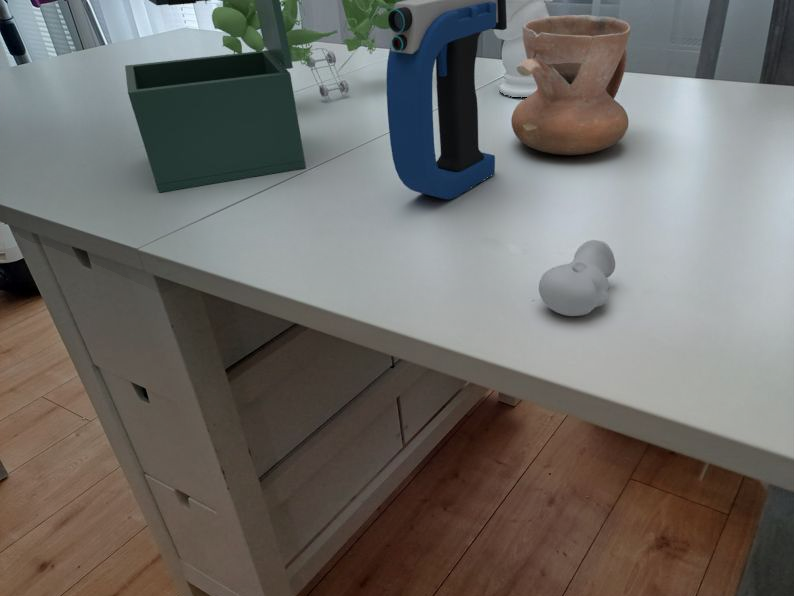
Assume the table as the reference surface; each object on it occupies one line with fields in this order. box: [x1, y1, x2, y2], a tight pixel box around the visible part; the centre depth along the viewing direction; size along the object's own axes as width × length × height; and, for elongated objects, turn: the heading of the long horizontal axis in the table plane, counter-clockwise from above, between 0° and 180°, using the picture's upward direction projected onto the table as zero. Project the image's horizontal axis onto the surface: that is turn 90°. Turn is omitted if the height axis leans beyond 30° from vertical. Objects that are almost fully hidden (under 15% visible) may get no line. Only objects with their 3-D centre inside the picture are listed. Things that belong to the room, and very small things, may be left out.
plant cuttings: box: [204, 0, 406, 101], centre depth 103 cm, size 35×17×22 cm
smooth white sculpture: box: [538, 239, 616, 317], centre depth 53 cm, size 4×8×5 cm
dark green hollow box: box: [124, 49, 307, 193], centre depth 79 cm, size 17×13×11 cm
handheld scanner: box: [386, 0, 507, 200], centre depth 68 cm, size 5×16×20 cm, turn 146°
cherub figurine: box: [493, 0, 554, 98], centre depth 98 cm, size 12×12×22 cm
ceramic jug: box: [510, 14, 631, 156], centre depth 81 cm, size 18×14×14 cm
